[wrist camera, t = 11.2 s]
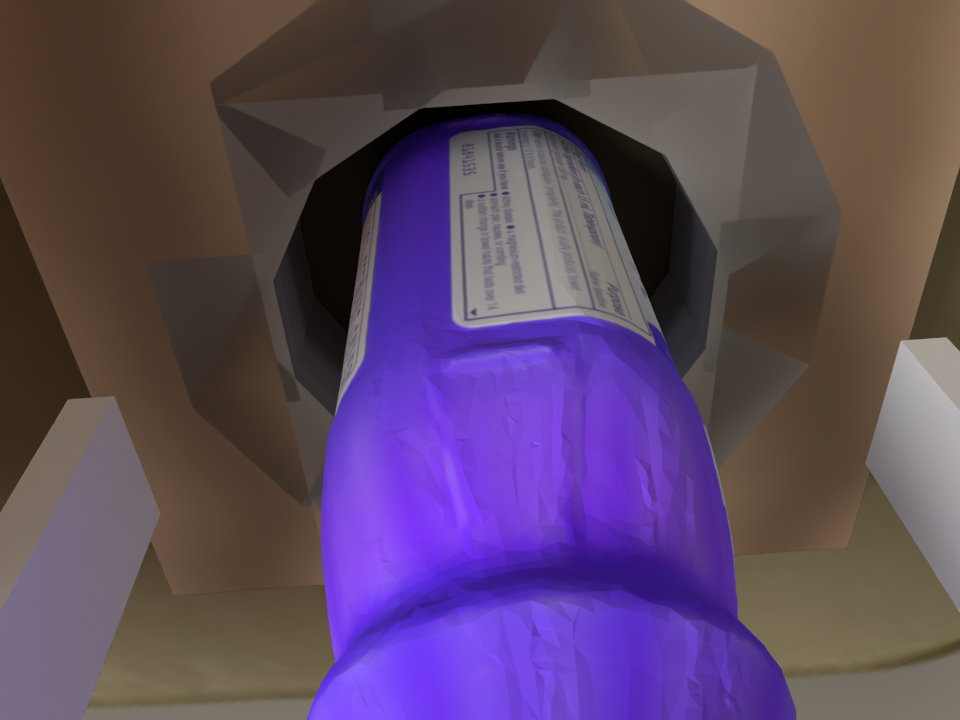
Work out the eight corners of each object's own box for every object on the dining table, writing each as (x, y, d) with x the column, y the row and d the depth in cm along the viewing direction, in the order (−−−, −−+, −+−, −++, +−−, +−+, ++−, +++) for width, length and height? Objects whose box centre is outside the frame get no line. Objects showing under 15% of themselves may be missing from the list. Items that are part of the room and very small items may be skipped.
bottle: (608, 348, 22) (921, 1365, 8) (400, 372, 22) (336, 1413, 8) (600, 75, 18) (1231, 1191, 4) (343, 109, 18) (4, 1296, 4)
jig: (204, 501, 25) (173, 595, 22) (-7, -108, 15) (-108, -84, 13) (800, 459, 25) (847, 547, 22) (941, -172, 16) (1056, -163, 13)
